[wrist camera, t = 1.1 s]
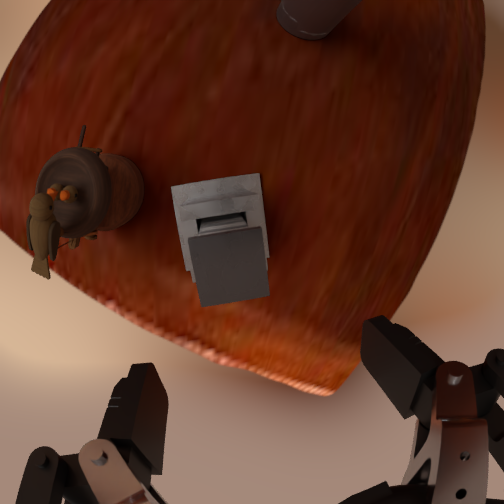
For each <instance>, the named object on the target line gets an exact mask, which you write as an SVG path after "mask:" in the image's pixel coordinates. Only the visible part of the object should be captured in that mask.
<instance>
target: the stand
mask: <svg viewBox="0 0 504 504" xmlns="http://www.w3.org/2000/svg"><path fill="white" fill-rule="evenodd" d="M171 191H172V197H173V203H174V209H175V215H176V220H177V226H178V231H179V237H180V242H181V247H182V252H183V257H184V262H185V266H186V271H191V276H192V280H193V282H196V280H195V275H194V270H193V265H192V261H191V256H190V250H189V245H188V238H189V237H194V236H199V232H200V227H201V222H202V218H206V217H212V216H218V215H225V214H231V213H237V212H238V213H239V214H240V216H242V218H243V220H245V223H246V224H247V225H248V226H249V228H250V227H257V226H260V227H261V228H262V233H263V242H264V250H265V258H266V267H267V270H268V266H267V258H269V249H268V241H267V232H266V224H265V215H264V207H263V199H262V191H261V183H260V175H259V173H256V174H248V175H240V176H233V177H226V178H220V179H213V180H207V181H201V182H195V183H189V184H183V185H178V186H173V187H171Z"/></svg>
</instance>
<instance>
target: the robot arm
mask: <svg viewBox="0 0 504 504" xmlns="http://www.w3.org/2000/svg"><path fill="white" fill-rule="evenodd" d="M361 1H362V0H282V1H281V3H280V5H279V7H278V9H277V19H278V21H279V23H280V24H281V26H282V27H283V28H284V29H285V30H286V31H288V32H289V33H291V34H292V35H294V36H297V37H299V38H302V39H308V40H317V39H321V38H323V37H325V36H326V35H328V34H329V33H330V32H331V30H332V29H333V28H334V27H335V26H336V25H337V24H338V23H339V22H340V21H341V20H342V19H343V18H344V17H345V16H346V15H347V14H348V13H349V12H350V11H351V10H352V9H354V8H355V7H356V6H357V5H358V4H359V3H360V2H361ZM360 353H361V359H362V362H363V364H364V366H365V367H366V369H367V370H368V371H369V373H370V374H371V375H372V376H373V378H374V379H375V380H376V381H377V383H378V384H379V386H380V387H381V388H382V390H383V391H384V392H385V393H386V395H387V396H388V398H389V399H390V401H391V402H392V403H393V404H394V405H395V407H396V409H397V410H398V411H399V413H400V414H401V415H402V417H403V418H404V419H407V418H409V417H411V416H412V415H414V414H415V415H416V416H417V418H418V419H417V421H416V426H415V433H414V440H413V446H412V451H411V457H410V462H409V465H408V468H407V470H406V472H405V475H404V477H403V480H402V483H401V485H397V486H390V487H389V485H388V484H387V482H386V481H385V482H382V483H380V484H378V485H376V486H374V487H372V488H369V489H367V490H364V491H362V492H360V493H357V494H354V495H352V496H350V497H349V498H347V499H345V500H344V501H342V502H340V503H339V504H504V500H499V499H488V498H486V494H487V482H488V462H489V461H488V460H489V452H490V453H491V455H492V456H493V457H494V459H495V460H496V462H497V463H498V464H499V466H500V467H501V469H502V470H503V472H504V410H503V409H502V408H501V407H500V406H499V405H498V404H497V400H498V398H499V396H500V395H502V397H503V398H504V349H493V350H491V351H490V352H489V353H488V354H487V356H486V359H485V361H484V363H482V364H479V365H475V366H472V367H468V366H467V365H465V364H464V363H461V362H458V361H449V362H444V361H443V360H442V359H441V358H440V357H439V356H438V355H437V354H436V353H435V352H433V351H432V350H431V349H430V348H429V347H428V346H427V345H426V344H424V343H423V342H421V340H420V339H419V338H418V337H415V335H414V334H413V333H412V332H411V331H410V330H409V329H407V328H406V327H403V326H401V325H399V324H396V323H395V324H392V323H391V322H390V321H389V320H388V319H387V318H386V317H385V316H383V315H380V316H377V317H374V318H371V319H368V320H365V321H364V323H363V329H362V341H361V351H360ZM167 414H168V396H167V393H166V390H165V388H164V386H163V384H162V382H161V380H160V378H159V375H158V373H157V371H156V368H155V366H154V364H153V363H140V364H132V366H131V368H130V371H129V374H128V377H127V378H122V379H121V380H120V381H119V382H118V383H117V384H116V386H115V387H114V389H113V392H112V395H111V399H110V400H109V403H108V408H107V410H106V412H105V416H104V419H103V422H102V425H101V428H100V431H99V434H98V437H97V439H95V440H92V441H89V442H88V443H86V444H85V445H84V446H83V447H82V448H81V450H80V452H79V453H78V454H72V455H63V456H60V455H58V454H57V452H55V450H53V449H52V448H50V447H46V446H43V447H39V448H37V449H35V450H34V451H33V452H32V453H31V455H30V456H29V459H28V462H27V465H26V468H25V471H24V474H23V478H22V481H21V484H20V488H19V492H18V495H17V499H16V504H61V503H62V497H63V498H64V499H65V503H64V504H168V503H167V502H166V501H165V500H164V498H163V497H162V496H161V495H160V494H159V493H158V491H157V490H156V489H155V488H154V486H153V485H152V484H151V483H150V482H151V475H162V468H163V454H164V443H165V433H166V423H167Z"/></svg>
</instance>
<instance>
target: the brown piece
mask: <svg viewBox="0 0 504 504" xmlns="http://www.w3.org/2000/svg"><path fill="white" fill-rule="evenodd" d="M85 130H86V125H83V126H82V130H81V134H80V139H79V143H78V147H73V148H67V149H64V150H62V151H60V152H58V153H56V154H55V155H54V156H52V157H51V158H50V159H49V160H48V161H47V162H46V164H45V165H44V167H43V168H42V170H41V172H40V174H39V177H38V180H37V184H36V190H35V196H34V197H33V198H32V199H31V202H30V206H29V210H30V214H29V216H28V218H27V240H28V245H29V249H30V250H34V252H35V256H34V260H33V264H32V268H31V270H32V271H33V272H35V273H37V274H39V275H42V276H43V277H46V278H47V279H50V271H49V265H48V255H50V260H52V261H54V260H55V259H56V255H57V250H58V248H60V247H62V246H64V245H65V244H67V243H69V244H68V246H69V248H70V249H75V248H76V247H78V246H79V242H80V237H85V238H86V239H89V240H94V239H97V235H96V234H97V231H98V230H99V231H109V230H113V229H116V228H118V227H120V226H121V225H123V224H125V223H127V222H128V221H130V220H131V219H132V218H133V217H134V216H135V215H136V213H137V212H138V210H139V209H140V207H141V204H142V201H143V197H144V182H143V178H142V175H141V173H140V171H139V169H138V168H137V166H136V165H135V164H134V163H133V162H132V161H131V160H129V159H128V158H126V157H123V156H120V155H114V154H100V152H102V149H99V148H97V149H96V148H87V147H82V143H83V138H84V134H85ZM92 151H93V152H96V154H95V153H93V152H92ZM60 237H64V238H69V242H67V243H65V244H63V245H61V246H59V247H58V245H59V238H60Z"/></svg>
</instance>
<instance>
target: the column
mask: <svg viewBox="0 0 504 504" xmlns="http://www.w3.org/2000/svg"><path fill="white" fill-rule="evenodd" d="M188 245H189V250H190V256H191V261H192V265H193V270H194V275H195V280H196V284H197V289H198V294H199V298H200V302H201V307H206V306H212V305H219V304H225V303H231V302H237V301H243V300H248V299H254V298H260V297H265V296H270V293H269V284H268V276H267V267H266V258H265V250H264V242H263V233H262V228H261V227H260V226H257V227H250V228H249V226H248V225H247V224H246V223H245V220H243V218H242V216H240V214H239V213H238V212H237V213H231V214H225V215H218V216H212V217H206V218H202V222H201V227H200V232H199V236H194V237H189V238H188Z"/></svg>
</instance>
